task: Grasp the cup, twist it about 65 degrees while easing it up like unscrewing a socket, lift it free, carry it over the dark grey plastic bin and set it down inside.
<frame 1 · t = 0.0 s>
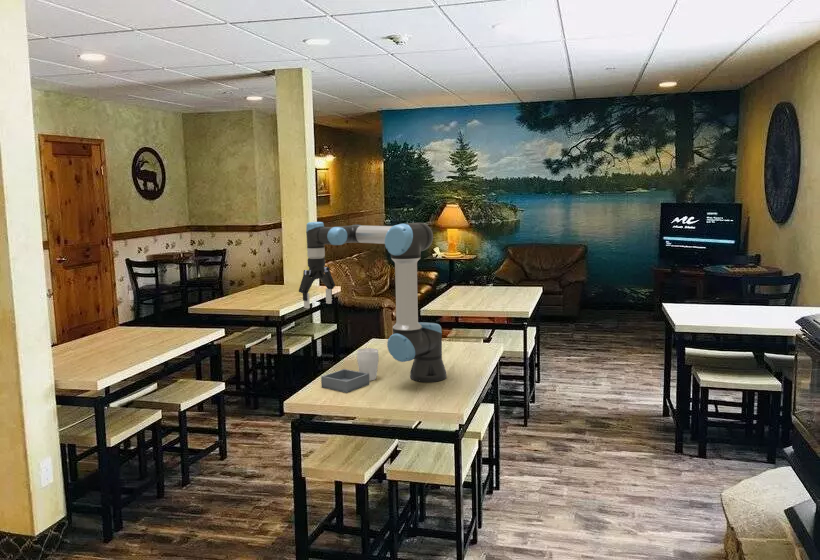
hand: (318, 305, 297), 28 cm above the table, fingers open, 13 cm apart
cup: (368, 379, 282), on the table
bin: (345, 385, 272), on the table
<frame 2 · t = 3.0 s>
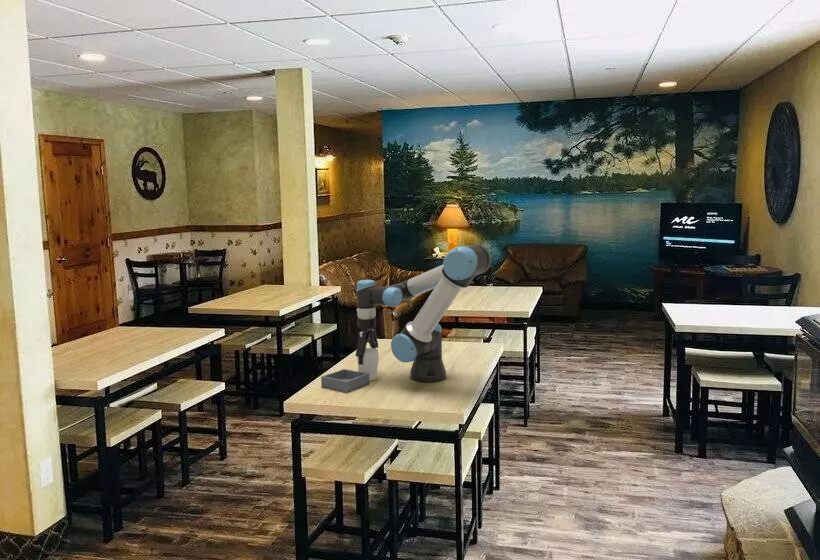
hand: (367, 367, 281), 5 cm above the table, fingers open, 13 cm apart
nothing on the table moved.
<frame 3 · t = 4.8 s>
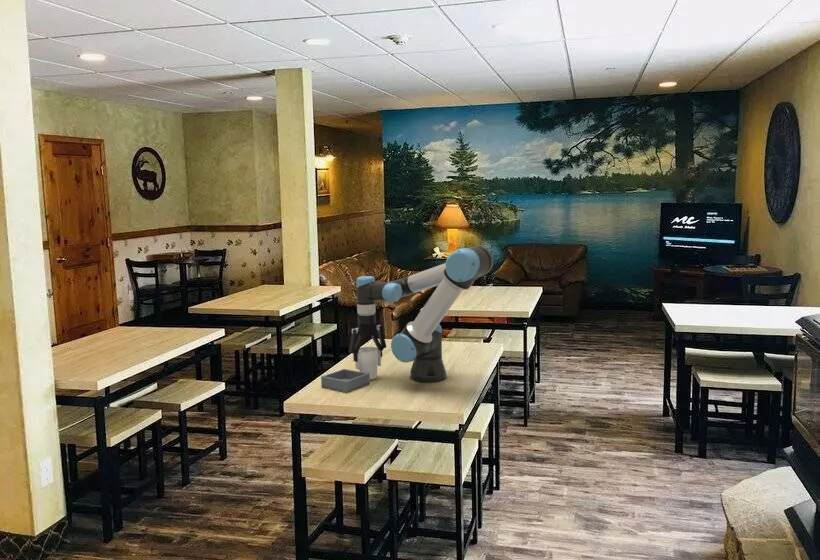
hand: (368, 367, 281), 5 cm above the table, fingers closed on cup, 9 cm apart
cup: (368, 377, 282), on the table, touching gripper
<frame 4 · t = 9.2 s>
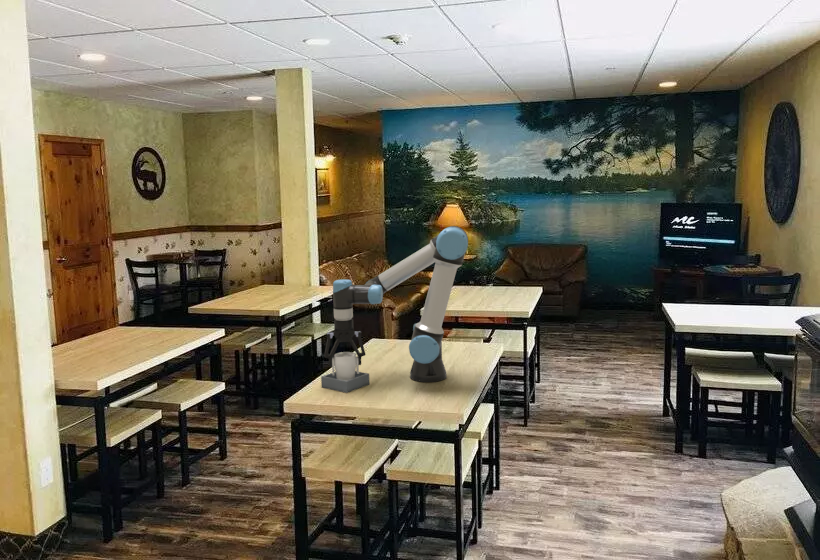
hand: (345, 373, 271), 5 cm above the table, fingers closed on cup, 9 cm apart
cup: (346, 384, 273), point 1 cm above the table, touching bin, gripper
when the fingers open (5 cm above the table, at t = 9.4 s): cup stays where it is, resting on bin.
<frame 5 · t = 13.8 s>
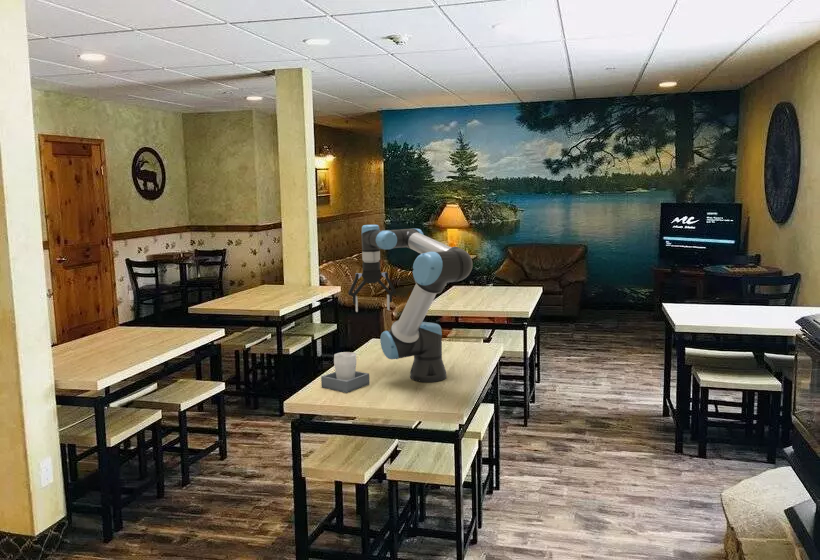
hand: (372, 310, 289), 27 cm above the table, fingers open, 13 cm apart
cup: (346, 384, 273), point 1 cm above the table, touching bin
at the end: cup inside the target area on the bin (0.5 cm from its centre), point 0.6 cm above the bin's base; cup tilted 0°; the gripper is holding nothing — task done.
